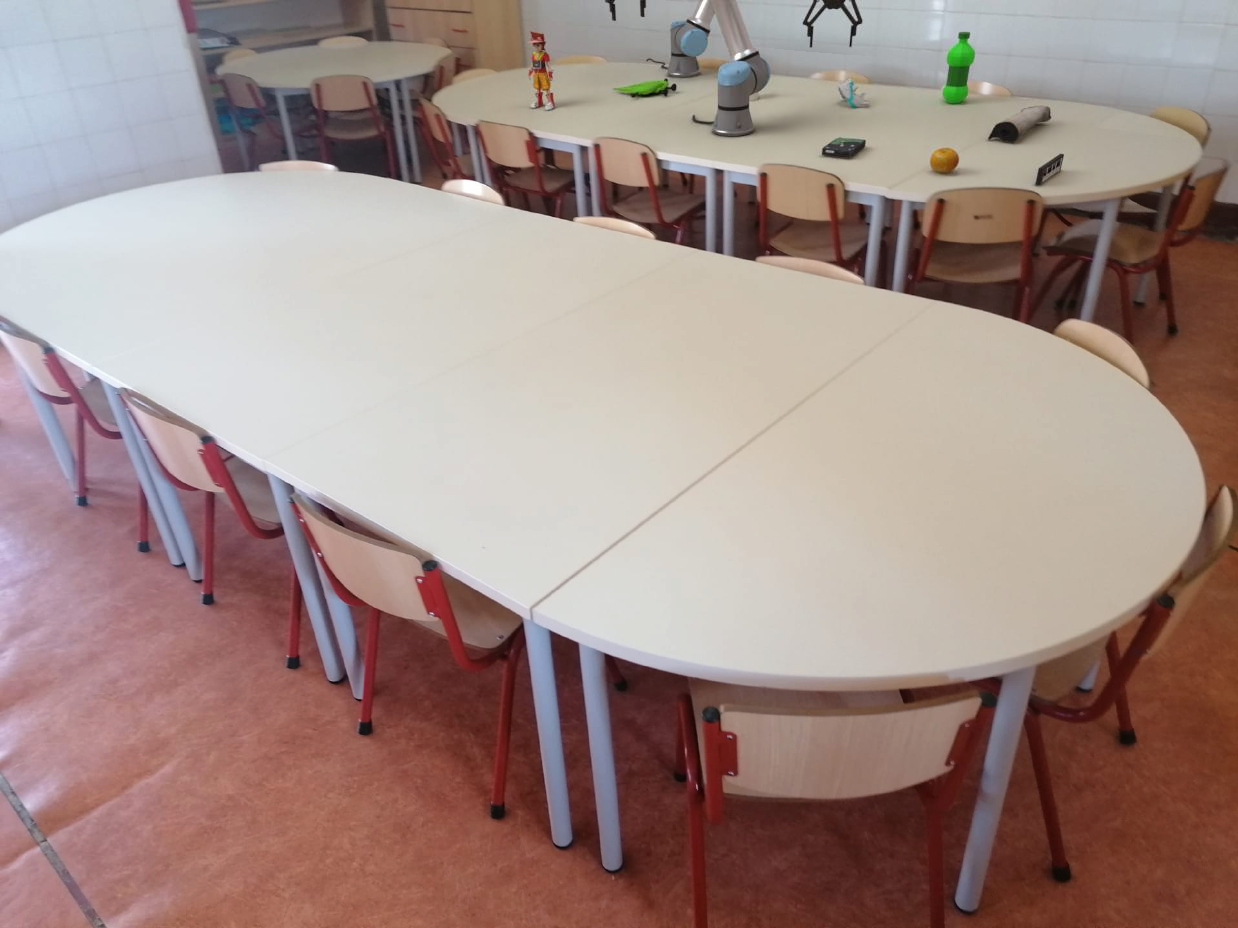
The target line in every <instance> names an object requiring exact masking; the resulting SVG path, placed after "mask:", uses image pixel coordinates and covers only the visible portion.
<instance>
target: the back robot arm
mask: <svg viewBox="0 0 1238 928" xmlns="http://www.w3.org/2000/svg"><path fill="white" fill-rule="evenodd" d="M615 1H616V0H604V2H605V4H606V3H607V4H608V5H609V12H610V13H611V21H613V22H616V21H617V16H616V15H617V14H616V3H615ZM646 8H647V0H639V11H640V17H641V18H646V15H645V9H646ZM714 17H715V12H714V9H713V7H712V4H711V1H710V0H698V2H697V4H696V7H695V9H694V11H693V13H692V16H690V17H687V19H686V20H685V19H684V20H677V21H676V20H675V21H672V22H671V23H670V29H669V31H670V60H669V62H668V66H665V65H666V63H665V62H663V61H657V60H654V59H653V58H651V57H650V58H646V62H648V61H651V62H653V63H655V64H662V65H661V66H660V67H661V68H662V69H665V70H667V72H666V73H667V76H668V77H671V78H691V77H696V76H699V75H700V74H701V68H700V66H699V64H700V63H699V61H698V58H697V57H699V56H700V55H702V54H704V53H705V51H706V50H707V47H708V43H709V36H710V34H711V31H712V29H711V23H712V20H713V18H714Z"/></svg>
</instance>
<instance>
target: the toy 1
mask: <svg viewBox="0 0 1238 928" xmlns="http://www.w3.org/2000/svg"><path fill="white" fill-rule="evenodd" d="M529 33H530V35H531V36H528V37H527V38H528V39H529V40H528V41H527V43H529V44H530V43H531V44H532V48H533V50H534V51H533V52H532V55H531V58H530V59H531V63H530V66H528V74H527V75H528V76H527V77H528V79H529V80H531V75H532V74H533V84H532V85H533V86H532V87H533V88H534V89H535V90H536V92H534V95H535V97H536V100H535V101H533V102H531V105H530V108H531V109H535V108H538V107H542V106H544V101H543V100H544V99H543V95H544V92H546V94H545V97H546V99H547V103H546V104H545V106H544V110H546V111H549V110H553V109H554V107H555V106H556V105H555V99H554V92H551V91H550V90H551V86H552V84H551V82H552V81H553V80H554V77H553V73H554V71H555V70H554V69H552V68H551V63H550V61H551V59H550V58H551V57H550V54H549V53H548V52H547V50H546V48H545V46H546V44H547V41H545V35H544V33H543V32H542V33H539V32H535V31H529Z"/></svg>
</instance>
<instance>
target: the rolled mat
mask: <svg viewBox="0 0 1238 928" xmlns="http://www.w3.org/2000/svg"><path fill="white" fill-rule="evenodd" d="M1051 113H1052V112H1051V107H1050V106H1048V105H1047V106H1045V105H1033V106H1027V107H1024V108H1022V109H1021V110H1020V112H1018V113H1015V114H1013V115H1012V116H1009V117H1007V118H1005V119H1003V120H1001V121H1000V122H997V123H996V124H995V125H994V126H993V128H992V130H991V132H990V133H989V136H988V137H987V140H988V141H990V140H991V139H999V140H1000V141H1002V142H1006V143H1011V144H1013V143H1016V142H1017V141H1018V140H1019V139H1020V138H1021V137H1023V135H1024V134H1026V132H1027V131H1029V130H1030V129H1031V128H1033V127H1034V126H1035V125H1036V124H1040V123H1046V122H1049V121H1050V120H1051V119H1052V114H1051Z"/></svg>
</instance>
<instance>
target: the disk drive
mask: <svg viewBox="0 0 1238 928" xmlns="http://www.w3.org/2000/svg"><path fill="white" fill-rule="evenodd" d="M866 142H867V140H866V139H860V138H853V137H852V138H849V137H848V138H847V137H840V136H839V137H837V138H835V139H833V140H832V141H830V142H829V143H828V144H826V145H825V146H823V147H822V148H821V156H824V157H825V156H826V157H833V158H839V159H840V158H841V159H851V158H853V157H854V156H855V155H857V154H858V153H859V152H861V151H862V150H863V149H865V148H866Z"/></svg>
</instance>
